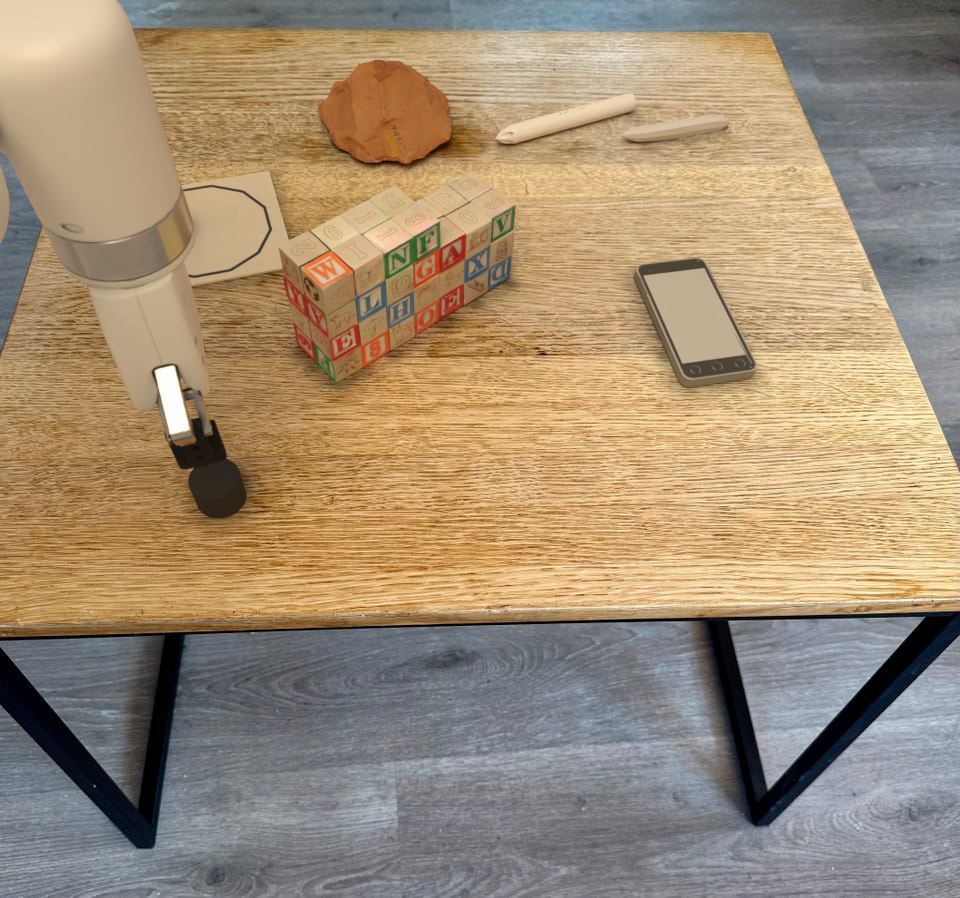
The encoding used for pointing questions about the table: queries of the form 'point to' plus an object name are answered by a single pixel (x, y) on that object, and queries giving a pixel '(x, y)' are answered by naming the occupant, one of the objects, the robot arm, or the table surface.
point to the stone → (386, 113)
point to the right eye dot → (218, 489)
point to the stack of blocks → (394, 269)
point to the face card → (234, 228)
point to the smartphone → (694, 322)
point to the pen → (677, 128)
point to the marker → (567, 119)
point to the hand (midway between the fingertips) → (194, 406)
